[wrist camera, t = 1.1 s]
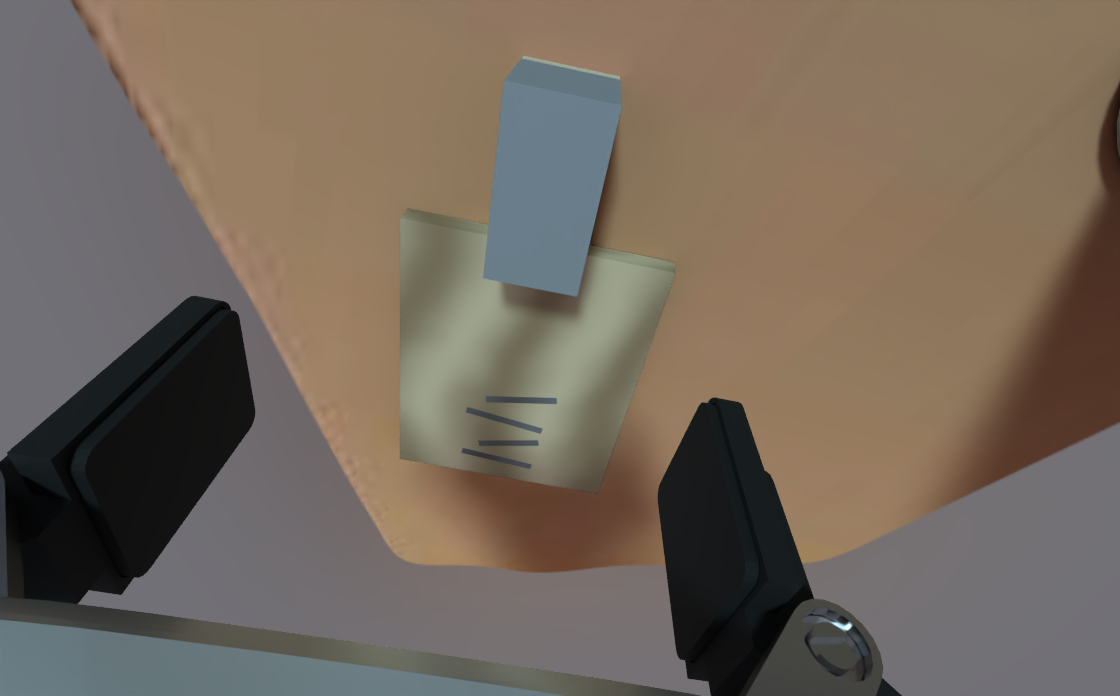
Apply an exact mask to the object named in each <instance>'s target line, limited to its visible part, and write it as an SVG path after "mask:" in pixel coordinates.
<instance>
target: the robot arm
mask: <svg viewBox="0 0 1120 696" xmlns="http://www.w3.org/2000/svg"><path fill="white" fill-rule="evenodd" d="M1117 149H1118V153H1119V156H1120V110H1119V115H1118V119H1117ZM254 418H255V406H254V400H253V395H252V389H251V383H250V377H249V372H248V366H247V360H246V354H245V348H244V343H243V337H242V331H241V325H240V320H239V316H238V314H237V312H235V311H231V308H230V306H229V304H228V303H226V302H224V301H219V300H214V299H209V298H204V297H198V296H191V297H189V298H187V299H186V300H185V301H184V302H182V303H181V304H180V305H179V306H178V307H177V308H175V309H174V310H173V311H172V312H171V313H170V314H168V315H167V316H166V317H165V318H164V319H163V320H161V321H160V322H159V323H158V324H157V325H156V326H154V327H153V328H152V329H151V330H150V331H149V332H147V333H146V334H145V335H144V336H143V337H142V338H141V339H139V340H138V341H137V342H136V343H135V344H133V345H132V346H131V347H130V348H129V349H128V350H126V351H125V352H124V353H123V354H122V355H121V356H119V357H118V358H117V359H116V360H115V361H114V362H112V363H111V364H110V365H109V366H108V367H107V368H105V369H104V370H103V371H102V372H101V373H100V374H98V375H97V376H96V377H95V378H94V379H93V380H91V381H90V382H89V383H88V384H87V385H85V386H84V387H83V388H82V389H81V390H80V391H79V392H77V393H76V394H75V395H74V396H73V397H71V398H70V399H69V400H68V401H67V402H66V403H65V404H63V405H62V406H61V407H60V408H59V409H58V410H56V411H55V412H54V413H53V414H52V415H50V416H49V417H48V418H47V419H46V420H45V421H43V422H42V423H41V424H40V425H39V426H38V427H36V428H35V430H33V431H32V432H31V433H30V434H29V435H27V436H26V437H25V438H24V439H22V440H21V441H20V442H19V443H18V444H17V445H15V446H14V447H13V448H12V449H11V450H10V451H9V452H7V454H8V455H7V456H6V457H5V458H4V459H3V460H2V461H0V696H698V695H694V694H689V693H682V692H677V691H671V690H665V689H659V688H653V687H648V686H642V685H636V684H629V683H624V682H617V681H612V680H606V679H599V678H593V677H586V676H579V675H573V674H566V673H559V672H553V671H546V670H539V669H533V668H526V667H519V666H513V665H506V664H500V663H493V662H485V661H479V660H473V659H466V658H459V657H453V656H446V655H439V654H432V653H425V652H418V651H411V650H405V649H397V648H391V647H384V646H377V645H370V644H363V643H356V642H350V641H343V640H336V639H329V638H322V637H315V636H308V635H301V634H294V633H286V632H280V631H272V630H266V629H258V628H252V627H244V626H237V625H230V624H223V623H216V622H208V621H201V620H194V619H187V618H180V617H173V616H166V615H159V614H151V613H144V612H136V611H128V610H120V609H112V608H104V607H96V606H87V605H79V604H78V603H79V602H80V600H81V599H82V598H83V597H84V595H85V594H86V593H87V592H88V590H92V591H99V592H106V593H112V594H119V595H121V594H122V593H123V592H124V590H125V589H126V588H127V586H128V585H129V584H130V582H131V581H132V579H133V578H134V577H138V578H139V577H141V576H143V575H144V574H145V573H146V572H147V571H148V570H149V569H150V568H151V566H152V565H153V564H154V562H155V560H156V559H157V558H158V556H159V555H160V554H161V552H162V551H163V550H164V548H165V547H166V545H167V544H168V543H169V541H170V540H171V538H172V537H173V535H174V534H175V533H176V531H177V530H178V528H179V527H180V525H181V524H182V523H183V521H184V520H185V519H186V517H187V516H188V515H189V513H190V512H191V510H192V509H193V508H194V506H195V505H196V503H197V502H198V501H199V499H200V498H201V496H202V495H203V494H204V492H205V491H206V489H207V488H208V487H209V485H210V484H211V482H212V481H213V480H214V478H215V477H216V475H217V474H218V473H219V471H220V470H221V468H222V467H223V466H224V464H225V463H226V462H227V460H228V459H229V457H230V456H231V455H232V453H233V452H234V450H235V449H236V448H237V446H238V444H239V443H240V442H241V441H242V439H243V438H244V436H245V435H246V434H247V432H248V431H249V429H250V428H251V426H252V424H253V421H254ZM658 506H659V514H660V522H661V530H662V539H663V547H664V555H665V563H666V571H667V579H668V588H669V595H670V604H671V612H672V620H673V628H674V636H675V645H676V651H677V655H678V657H679V658H680V659H682V660H685V662H686V669H687V677H688V679H695V680H702V681H709V687H710V693H711V696H902V695H900V694H899V693H898V692H897V691H896V690H895V689H894V688H893V687H892V686H890V685H889V684H888V683H887V682H886V681H885V680H884V679H883V678H882V673H883V664H882V659H881V655H880V652H879V650H878V648H877V646H876V643H875V642H874V639H873V638H872V636H871V635H870V634H869V632H868V631H867V630H866V629H865V627H864V626H863V624H862V623H860V622H859V621H858V620H857V619H856V618H855V617H854V616H853V615H852V614H851V613H849V612H848V611H846V610H845V609H843V608H842V607H840V606H839V605H837V604H834V603H831V602H829V601H826V600H820V599H814V597H813V594H812V591H811V588H810V586H809V583H808V580H807V577H806V574H805V571H804V568H803V565H802V562H801V559H800V557H799V554H798V551H797V548H796V545H795V542H794V539H793V536H792V533H791V531H790V528H789V525H788V522H787V519H786V516H785V513H784V510H783V507H782V505H781V502H780V499H779V496H778V493H777V490H776V487H775V484H774V482H773V480H772V477H771V475H770V474H769V473H767V472H766V471H764V468H763V465H762V462H761V459H760V456H759V453H758V450H757V447H756V444H755V441H754V438H753V435H752V432H751V429H750V426H749V423H748V420H747V417H746V414H745V411H744V408H743V406H742V404H741V403H739V402H735V401H730V400H725V399H719V398H712V399H710V400H709V402H708V403H701V404H700V405H699V407H698V409H697V411H696V413H695V415H694V417H693V419H692V421H691V423H690V425H689V427H688V429H687V431H686V433H685V435H684V437H683V439H682V441H681V443H680V445H679V447H678V449H677V451H676V453H675V455H674V457H673V459H672V461H671V463H670V465H669V467H668V469H667V471H666V473H665V475H664V477H663V479H662V481H661V483H660V486H659V490H658Z"/></svg>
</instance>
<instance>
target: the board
mask: <svg viewBox="0 0 1120 696" xmlns="http://www.w3.org/2000/svg"><path fill="white" fill-rule="evenodd" d="M487 235H488V225H487V224H482V223H477V222H472V221H467V220H462V219H457V218H452V217H447V216H442V215H437V214H432V213H427V212H422V211H417V210H412V209H407V210H406V211H405V213H404V214H403V215H402V217H401V218H400V459H404V460H410V461H415V462H421V463H426V464H432V465H438V466H443V467H449V468H455V469H460V470H466V471H471V472H477V473H483V474H488V475H494V476H499V477H505V478H511V479H516V480H522V481H528V482H533V483H539V484H544V485H550V486H556V487H561V488H567V489H573V490H578V491H584V492H589V493H595V494H598V491H599V488H600V485H601V482H602V480H603V477H604V474H605V471H606V468H607V466H608V463H609V460H610V457H611V454H612V451H613V449H614V446H615V443H616V440H617V437H618V435H619V432H620V429H621V426H622V423H623V420H624V418H625V415H626V412H627V409H628V406H629V404H630V401H631V398H632V395H633V392H634V389H635V387H636V384H637V381H638V378H639V375H640V373H641V370H642V367H643V364H644V361H645V358H646V356H647V353H648V350H649V347H650V344H651V342H652V339H653V336H654V333H655V330H656V327H657V325H658V322H659V319H660V316H661V313H662V310H663V308H664V305H665V302H666V299H667V296H668V294H669V291H670V288H671V285H672V282H673V279H674V277H675V274H676V272H675V267H674V262H671V261H666V260H661V259H656V258H651V257H646V256H641V255H636V254H631V253H626V252H621V251H616V250H611V249H606V248H601V247H596V246H591V245H589V248H588V253H587V257H586V261H585V265H584V270H583V274H582V278H581V282H580V287H579V291H578V295H577V297H576V296H571V295H565V294H560V293H555V292H550V291H545V290H540V289H535V288H530V287H524V286H519V285H514V284H509V283H504V282H499V281H494V280H489V279H484V278H483V272H484V262H485V253H486V244H487Z"/></svg>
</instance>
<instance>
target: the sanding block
mask: <svg viewBox="0 0 1120 696" xmlns="http://www.w3.org/2000/svg"><path fill="white" fill-rule="evenodd" d="M621 108H622V98H621V86H620V76H615V75H610V74H606V73H601V72H596V71H592V70H587V69H583V68H578V67H573V66H569V65H564V64H559V63H555V62H550V61H546V60H541V59H536V58H532V57H527V56H523V58H522V59H521V60H520V61H519V63H518V64H517V65H516V66H515V67H514V69H513V70H512V71H511V72H510V74H509V75H508V76H507V77H506V79H505V80H504V87H503V96H502V105H501V114H500V124H499V133H498V142H497V151H496V161H495V170H494V179H493V188H492V198H491V207H490V216H489V225H488V235H487V244H486V253H485V262H484V272H483V278H484V279H489V280H494V281H499V282H504V283H509V284H514V285H519V286H524V287H530V288H535V289H540V290H545V291H550V292H555V293H560V294H565V295H571V296H576V297H577V295H578V291H579V287H580V282H581V278H582V274H583V270H584V265H585V261H586V257H587V253H588V248H589V244H590V240H591V236H592V231H593V227H594V223H595V219H596V214H597V210H598V206H599V202H600V197H601V193H602V189H603V185H604V180H605V176H606V172H607V168H608V163H609V159H610V155H611V151H612V146H613V142H614V138H615V134H616V129H617V125H618V121H619V117H620V112H621Z"/></svg>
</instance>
